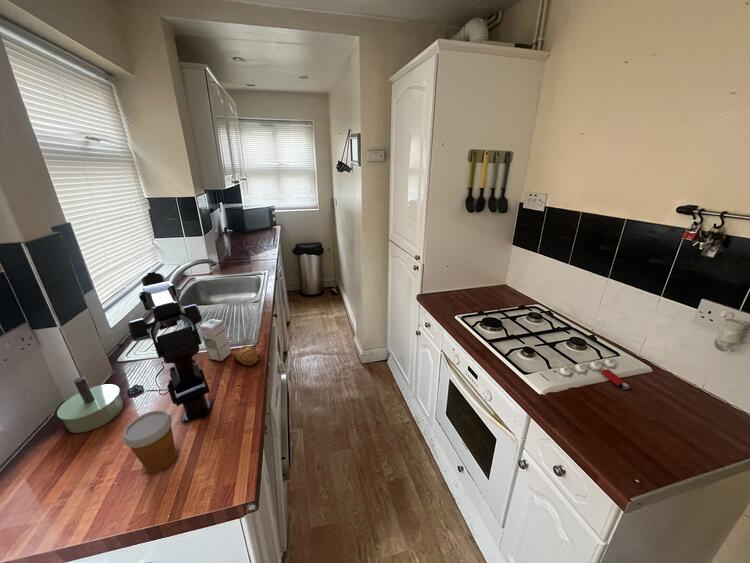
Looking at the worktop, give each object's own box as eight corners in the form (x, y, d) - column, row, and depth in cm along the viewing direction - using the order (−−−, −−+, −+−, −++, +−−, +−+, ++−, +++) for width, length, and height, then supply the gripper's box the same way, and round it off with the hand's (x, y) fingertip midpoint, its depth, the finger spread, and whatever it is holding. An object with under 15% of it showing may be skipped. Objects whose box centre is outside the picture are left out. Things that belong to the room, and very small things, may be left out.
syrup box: (231, 352, 118) (224, 319, 112) (220, 361, 112) (212, 327, 107) (219, 350, 119) (211, 317, 114) (208, 359, 114) (198, 325, 108)
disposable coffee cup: (175, 437, 82) (162, 403, 77) (189, 457, 76) (176, 421, 72) (132, 463, 75) (115, 427, 71) (145, 487, 69) (127, 450, 65)
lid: (107, 415, 84) (95, 390, 81) (46, 427, 80) (31, 402, 77) (128, 383, 96) (119, 360, 93) (76, 392, 93) (64, 369, 89)
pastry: (263, 361, 112) (261, 352, 111) (245, 369, 108) (242, 360, 106) (252, 350, 118) (250, 342, 117) (234, 358, 114) (232, 350, 113)
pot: (111, 426, 86) (105, 412, 84) (56, 437, 83) (48, 424, 81) (130, 395, 97) (125, 383, 95) (82, 404, 94) (76, 392, 92)
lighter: (609, 369, 102) (630, 385, 94) (608, 372, 102) (629, 388, 95) (601, 369, 101) (622, 386, 94) (600, 372, 102) (620, 389, 95)
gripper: (190, 281, 100) (193, 305, 111) (118, 297, 89) (129, 322, 101) (201, 309, 96) (203, 330, 108) (127, 330, 85) (138, 351, 97)
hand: (169, 332), depth 103 cm, fingers open, 9 cm apart
